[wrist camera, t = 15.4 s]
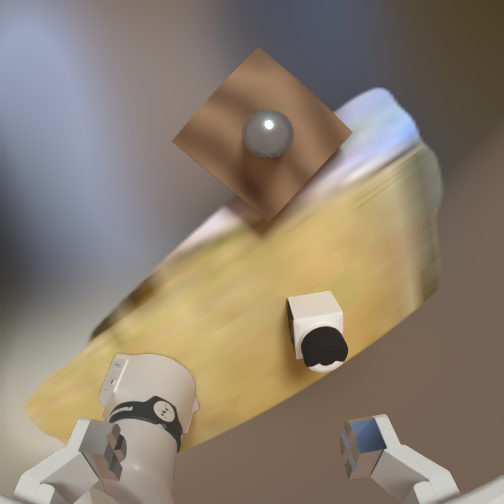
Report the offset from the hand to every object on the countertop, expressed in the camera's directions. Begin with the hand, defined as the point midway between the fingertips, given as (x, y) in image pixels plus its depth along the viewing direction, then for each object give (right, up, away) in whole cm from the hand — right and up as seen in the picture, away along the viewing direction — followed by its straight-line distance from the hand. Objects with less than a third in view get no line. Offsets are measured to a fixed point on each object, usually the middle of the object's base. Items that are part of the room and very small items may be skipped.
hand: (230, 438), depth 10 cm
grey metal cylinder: (+2, +21, +28) cm, 35 cm away
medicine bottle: (+10, -3, +41) cm, 43 cm away
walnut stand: (+2, +22, +32) cm, 39 cm away
